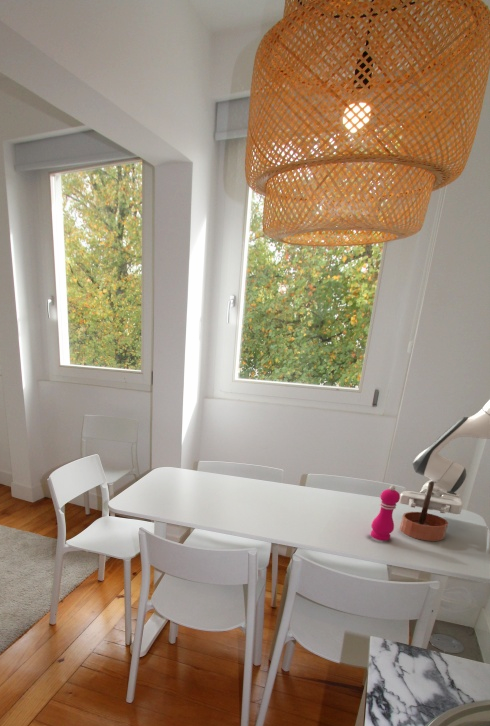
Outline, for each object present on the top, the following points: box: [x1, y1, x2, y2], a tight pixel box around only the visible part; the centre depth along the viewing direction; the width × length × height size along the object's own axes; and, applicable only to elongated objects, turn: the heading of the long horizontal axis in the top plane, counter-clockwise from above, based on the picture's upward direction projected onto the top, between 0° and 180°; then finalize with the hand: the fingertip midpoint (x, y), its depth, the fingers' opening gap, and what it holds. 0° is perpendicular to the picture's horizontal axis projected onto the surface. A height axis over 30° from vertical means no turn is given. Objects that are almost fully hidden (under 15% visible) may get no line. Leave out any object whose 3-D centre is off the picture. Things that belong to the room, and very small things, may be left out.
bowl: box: [399, 511, 449, 542], centre depth 171 cm, size 14×14×6 cm
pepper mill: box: [370, 485, 400, 542], centre depth 164 cm, size 7×7×20 cm
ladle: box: [415, 481, 434, 526], centre depth 170 cm, size 6×6×19 cm
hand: (427, 508), depth 168 cm, fingers open, 8 cm apart
